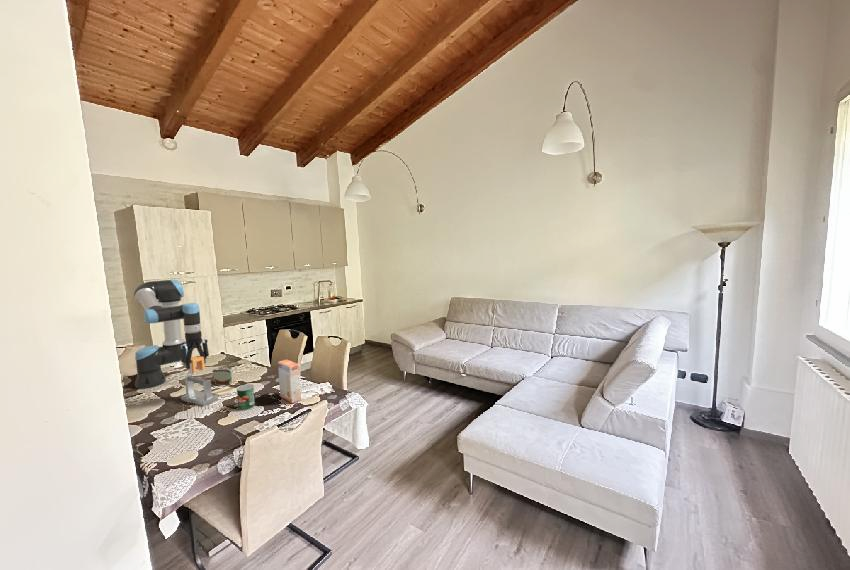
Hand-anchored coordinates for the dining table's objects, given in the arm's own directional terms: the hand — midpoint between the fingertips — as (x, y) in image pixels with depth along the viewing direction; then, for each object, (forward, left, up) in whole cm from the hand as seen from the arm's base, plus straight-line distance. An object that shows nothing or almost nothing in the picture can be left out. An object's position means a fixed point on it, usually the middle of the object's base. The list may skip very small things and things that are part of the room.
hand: (196, 371), depth 191 cm
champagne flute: (-70, +28, -16) cm, 77 cm away
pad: (+2, +13, -16) cm, 21 cm away
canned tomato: (+32, +5, -17) cm, 37 cm away
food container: (-9, +22, -17) cm, 29 cm away
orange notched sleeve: (0, 0, +1) cm, 1 cm away
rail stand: (0, 0, -16) cm, 16 cm away
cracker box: (+46, +22, -17) cm, 54 cm away
